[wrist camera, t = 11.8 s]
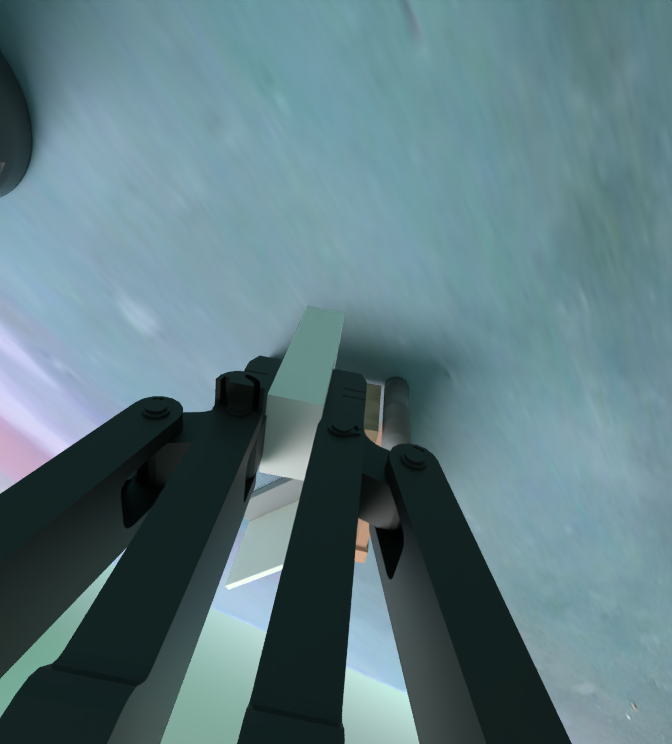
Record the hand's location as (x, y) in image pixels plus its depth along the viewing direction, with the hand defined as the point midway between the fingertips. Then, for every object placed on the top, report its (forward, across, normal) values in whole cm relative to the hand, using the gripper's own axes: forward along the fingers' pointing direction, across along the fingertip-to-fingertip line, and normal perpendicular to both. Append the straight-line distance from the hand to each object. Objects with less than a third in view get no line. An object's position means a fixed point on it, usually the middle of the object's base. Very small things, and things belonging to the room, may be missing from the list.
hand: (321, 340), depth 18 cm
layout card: (+23, -3, -33) cm, 40 cm away
